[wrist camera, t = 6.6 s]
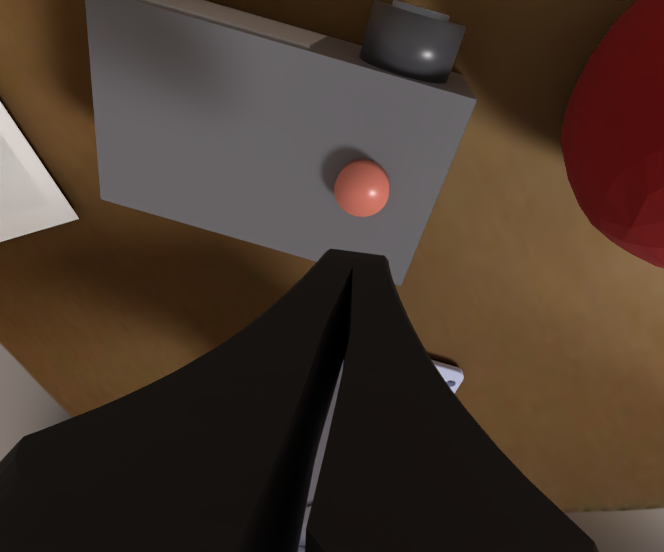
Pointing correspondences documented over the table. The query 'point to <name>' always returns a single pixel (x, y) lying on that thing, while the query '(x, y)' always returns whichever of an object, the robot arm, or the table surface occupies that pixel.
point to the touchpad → (26, 187)
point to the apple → (622, 133)
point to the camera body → (278, 123)
